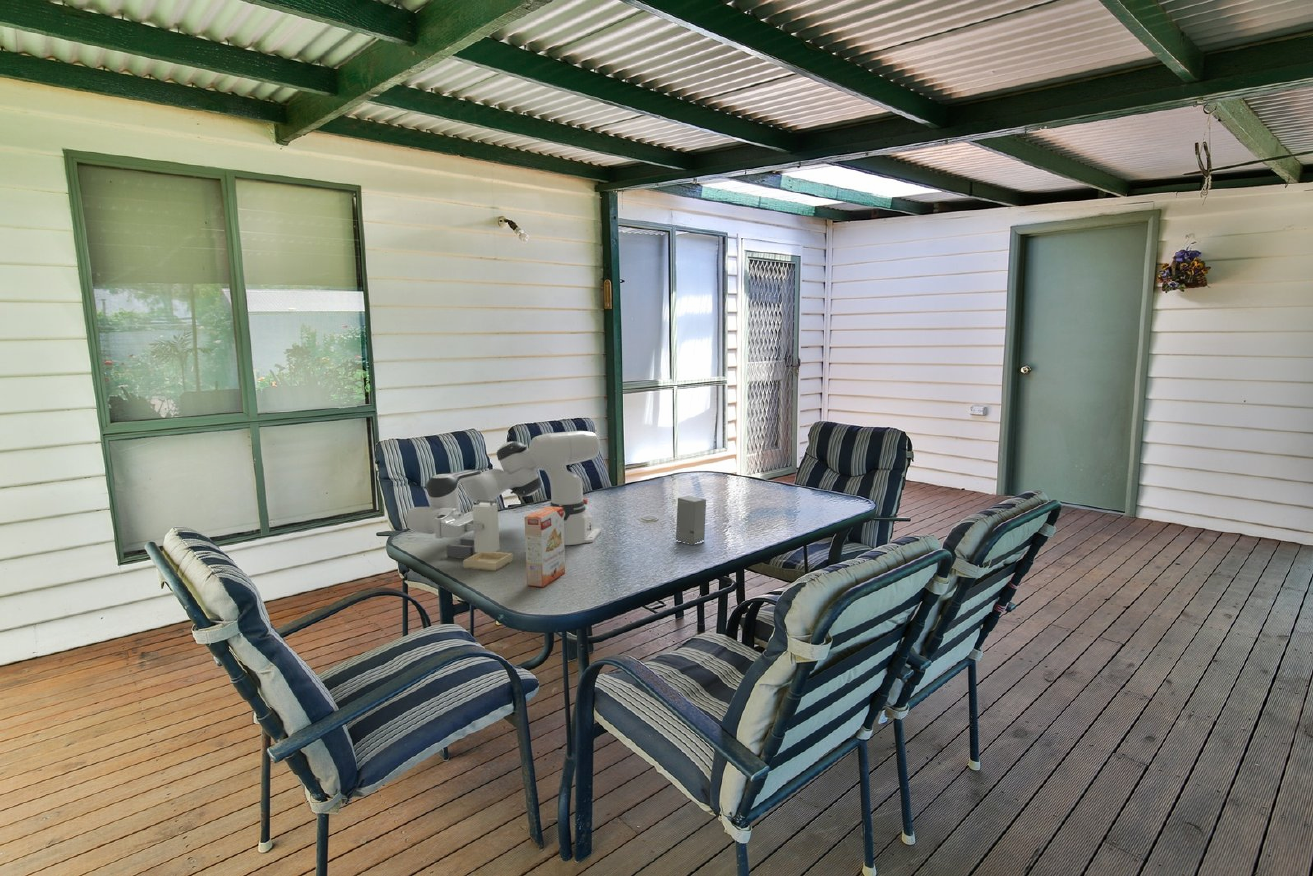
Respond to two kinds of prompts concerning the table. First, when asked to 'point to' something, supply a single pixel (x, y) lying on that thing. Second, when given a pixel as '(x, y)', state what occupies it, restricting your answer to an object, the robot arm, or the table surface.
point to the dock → (462, 549)
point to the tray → (488, 561)
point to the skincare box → (690, 519)
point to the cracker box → (544, 546)
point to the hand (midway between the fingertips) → (488, 524)
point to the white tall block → (486, 527)
